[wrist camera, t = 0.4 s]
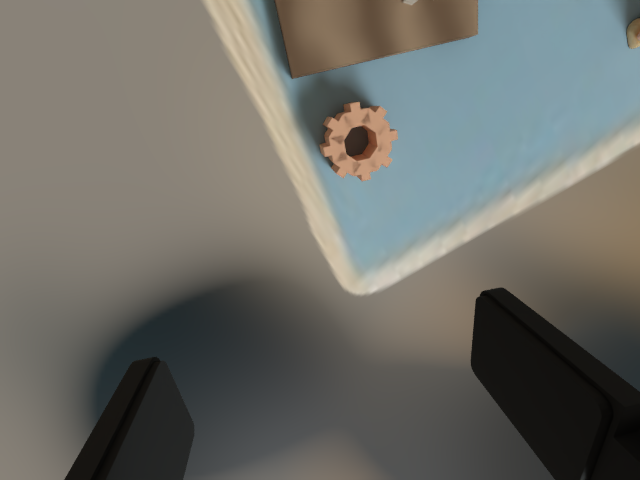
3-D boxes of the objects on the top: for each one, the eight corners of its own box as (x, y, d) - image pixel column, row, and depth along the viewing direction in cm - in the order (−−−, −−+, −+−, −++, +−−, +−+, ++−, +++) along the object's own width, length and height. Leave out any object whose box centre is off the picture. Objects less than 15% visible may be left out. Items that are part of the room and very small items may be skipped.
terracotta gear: (382, 95, 31) (393, 93, 28) (390, 166, 34) (401, 171, 31) (312, 111, 31) (316, 112, 28) (327, 181, 34) (331, 188, 31)
